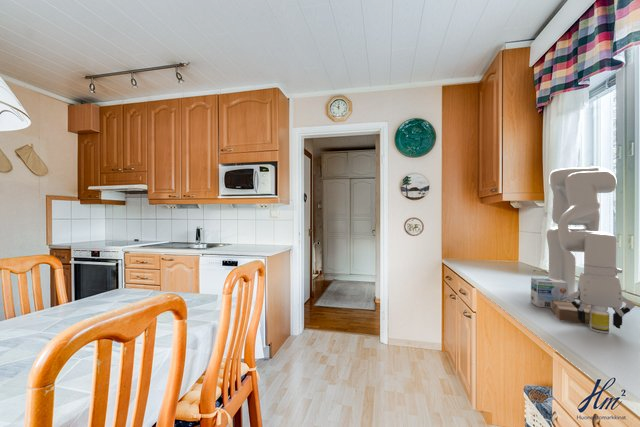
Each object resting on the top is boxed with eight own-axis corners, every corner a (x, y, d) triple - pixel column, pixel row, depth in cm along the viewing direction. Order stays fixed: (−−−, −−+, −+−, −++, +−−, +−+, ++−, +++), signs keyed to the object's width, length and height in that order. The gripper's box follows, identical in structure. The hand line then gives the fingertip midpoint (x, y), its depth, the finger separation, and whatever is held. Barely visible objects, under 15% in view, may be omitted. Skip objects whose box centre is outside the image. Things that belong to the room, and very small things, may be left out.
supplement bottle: (613, 334, 91) (613, 307, 91) (595, 332, 92) (596, 306, 92) (601, 328, 96) (602, 303, 96) (585, 326, 97) (585, 302, 97)
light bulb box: (537, 307, 117) (537, 280, 117) (529, 302, 123) (530, 277, 123) (568, 309, 114) (568, 282, 114) (559, 304, 120) (559, 278, 120)
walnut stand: (551, 309, 113) (551, 299, 113) (592, 315, 108) (592, 304, 108) (559, 320, 103) (559, 309, 103) (605, 326, 97) (605, 314, 97)
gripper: (631, 271, 93) (630, 325, 93) (562, 266, 101) (561, 316, 101) (643, 276, 86) (642, 334, 87) (568, 270, 95) (568, 323, 95)
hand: (598, 324), depth 94 cm, fingers open, 7 cm apart
